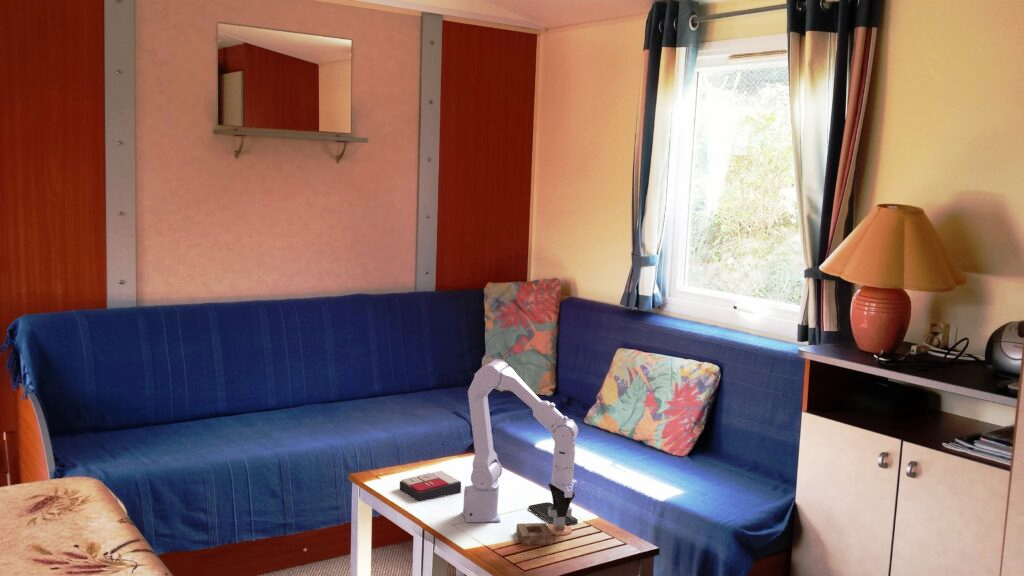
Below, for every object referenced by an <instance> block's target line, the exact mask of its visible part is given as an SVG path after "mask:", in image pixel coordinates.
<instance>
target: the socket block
mask: <svg viewBox="0 0 1024 576" xmlns="http://www.w3.org/2000/svg"><path fill="white" fill-rule="evenodd" d="M547 525H548V524H547V523H546V522H540V523H539V522H538V523H535V522H534V523H532V522H531V523H528V522H527V523H526V522H525V523H516V535H517V534H518V535H517V536H519V537H518V539H519V541H520V543H521V545H522V546H534V545H533V544H539V545H538V546H542V545H545V546H546V545H547V546H548V545H550V546H551V545H553V540H554V539H553V538H554V534H552V533H551V531H550V529H549V528H548V526H547Z"/></svg>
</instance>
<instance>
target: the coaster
mask: <svg viewBox="0 0 1024 576" xmlns="http://www.w3.org/2000/svg"><path fill="white" fill-rule="evenodd" d="M567 525H568V524H566V525H565V530H561V531H555V529H554V527H553V524H550V523H549V524H547V526H548V528H549V529H550V531H551V533H552V535H553V536H568V535H569V534H571V533H572V531H573V530H572V527H571V526H570V525H568V526H567Z"/></svg>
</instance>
